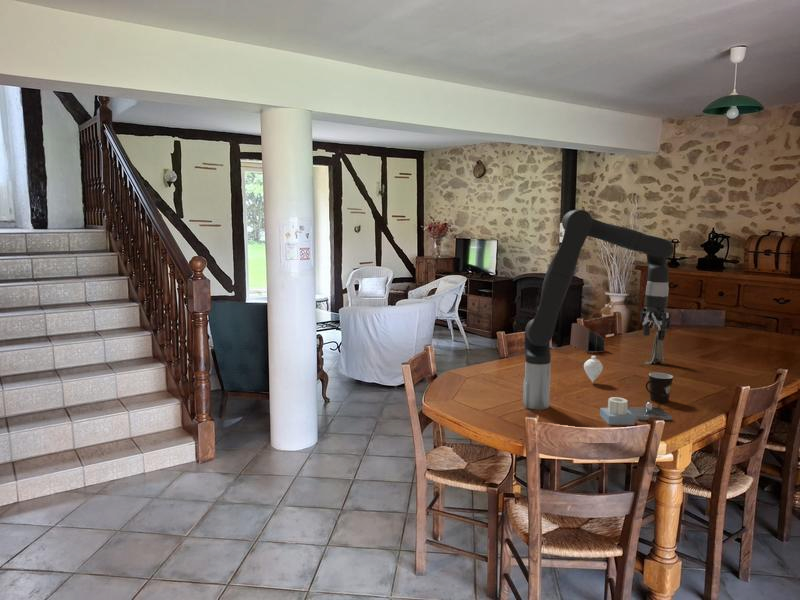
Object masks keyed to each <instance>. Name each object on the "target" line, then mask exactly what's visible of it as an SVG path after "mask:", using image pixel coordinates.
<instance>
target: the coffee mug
mask: <svg viewBox="0 0 800 600" xmlns="http://www.w3.org/2000/svg"><path fill="white" fill-rule="evenodd" d="M673 379H674V375H672V374H669V373H663V372H649V374H648V380H647V382H646V383H645V389H646V391H647V392H648V393H649V396H650V397H649V399H650V401H651V402H654V403H656V404H657V403H658V404H667V403H668V402H669V401H670V395H671V390H672V384H673V381H674V380H673ZM648 385H649V388H648Z"/></svg>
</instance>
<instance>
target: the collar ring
mask: <svg viewBox="0 0 800 600" xmlns="http://www.w3.org/2000/svg"><path fill="white" fill-rule="evenodd" d="M628 402H629V401H628V399H626V398H623V397H617V396H614V397H613V396H611V397H609V398H608V401H607V408H608V412H609V413H611V414H615V415H625V414H627V407H629V406H628Z"/></svg>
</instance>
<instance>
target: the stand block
mask: <svg viewBox="0 0 800 600" xmlns="http://www.w3.org/2000/svg"><path fill="white" fill-rule="evenodd" d="M599 409H600V410H599V416H600V418H601V419H602V420H603V421H604V422H605V423H606V424H607V425H609V426H610V425H611V426H612V425H613V426H615V425H616V426H621V425H622V426H635V425H636V419H635V416H634V415H633V414H632V413H631V412H630V411H628V410H627V414H625V415H615V414H611V413H609V412H608V407H599Z"/></svg>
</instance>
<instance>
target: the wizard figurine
mask: <svg viewBox="0 0 800 600" xmlns="http://www.w3.org/2000/svg"><path fill="white" fill-rule="evenodd" d="M657 328H658V326H657V325H656V324H655V322H653V325H652V329H654V330H656V329H657ZM658 330H659V329H657V331H656V332H655V336H654V341H653V344H652V345H653V346H652V351H651V356H650V360H648V361H645V362H644V364H645V365H651V364H652V363H653V364H654V365H656V364H657V363H659V364H662V365H665V360H664V359H665V358H664V353H663V352H664V345H663V342H664V340H665V339H666V337H665V338H664V340H658Z"/></svg>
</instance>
